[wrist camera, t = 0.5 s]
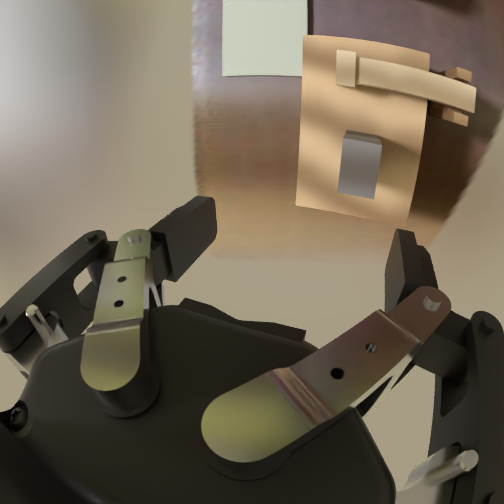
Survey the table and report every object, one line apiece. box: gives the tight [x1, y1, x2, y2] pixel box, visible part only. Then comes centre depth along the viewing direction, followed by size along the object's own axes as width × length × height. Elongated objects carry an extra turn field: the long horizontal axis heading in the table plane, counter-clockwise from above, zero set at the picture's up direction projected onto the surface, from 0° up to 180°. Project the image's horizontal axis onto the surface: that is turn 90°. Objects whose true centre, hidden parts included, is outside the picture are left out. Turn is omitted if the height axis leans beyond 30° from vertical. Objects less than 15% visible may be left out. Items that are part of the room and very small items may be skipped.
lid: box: [296, 35, 429, 227], centre depth 21 cm, size 18×12×7 cm, turn 0°
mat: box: [222, 0, 308, 77], centre depth 26 cm, size 16×11×1 cm
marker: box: [336, 50, 476, 113], centre depth 18 cm, size 3×13×3 cm, turn 90°
